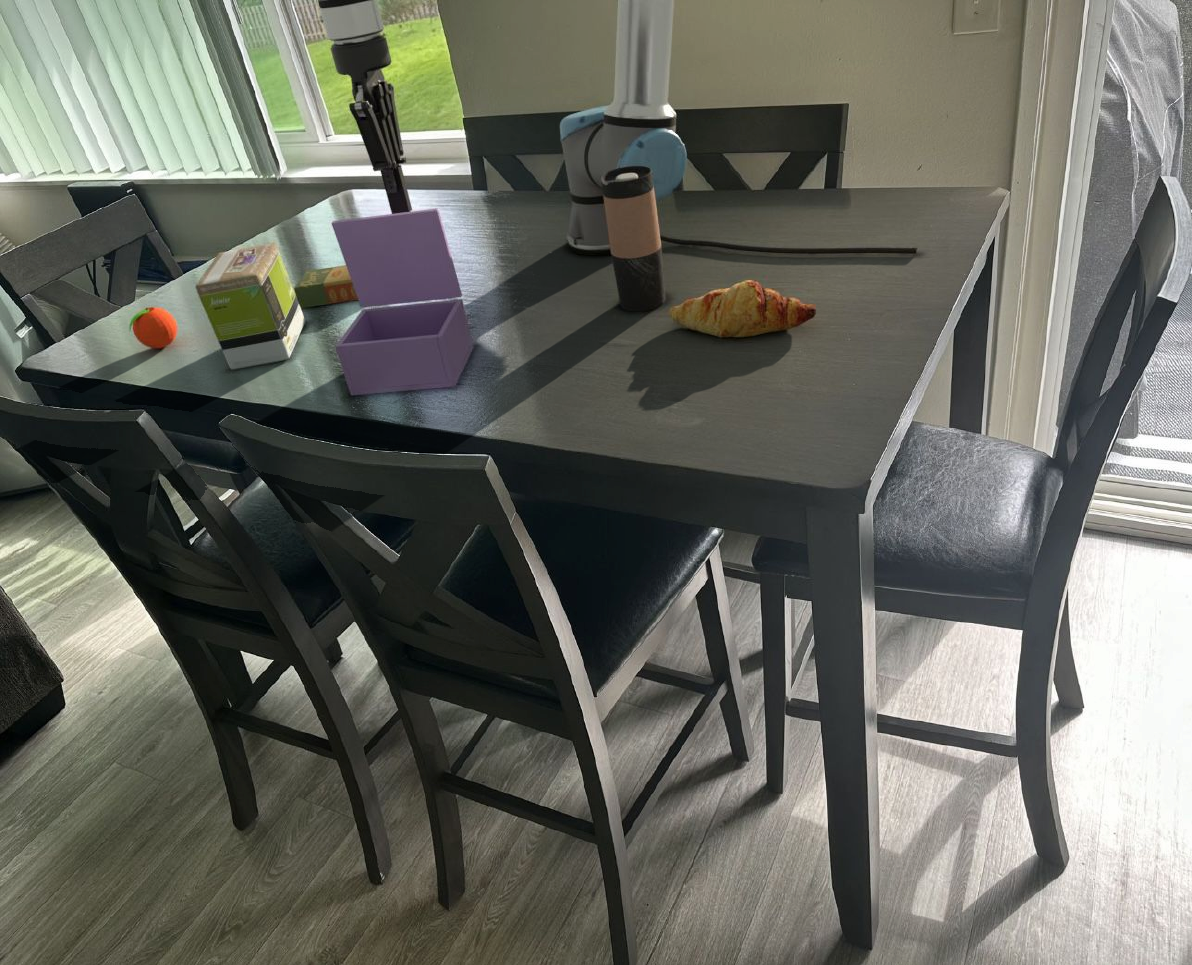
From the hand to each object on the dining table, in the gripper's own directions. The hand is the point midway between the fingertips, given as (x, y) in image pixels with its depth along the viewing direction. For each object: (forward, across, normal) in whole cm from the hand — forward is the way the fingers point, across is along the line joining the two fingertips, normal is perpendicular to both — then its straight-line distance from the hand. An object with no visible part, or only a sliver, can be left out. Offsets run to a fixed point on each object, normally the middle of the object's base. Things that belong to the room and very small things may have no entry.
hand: (402, 211), depth 137 cm
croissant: (+20, +8, +48) cm, 53 cm away
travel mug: (+20, -4, +33) cm, 39 cm away
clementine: (+20, -5, -51) cm, 55 cm away
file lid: (+5, +8, 0) cm, 9 cm away
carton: (+20, -21, -22) cm, 36 cm away
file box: (+20, +13, 0) cm, 23 cm away
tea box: (+20, -1, -29) cm, 35 cm away
